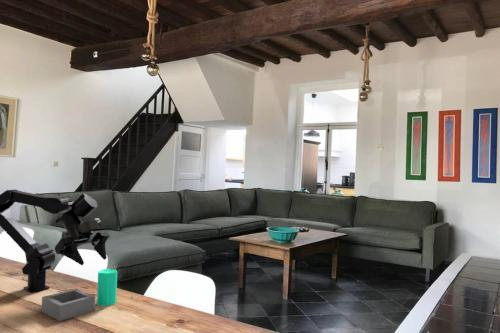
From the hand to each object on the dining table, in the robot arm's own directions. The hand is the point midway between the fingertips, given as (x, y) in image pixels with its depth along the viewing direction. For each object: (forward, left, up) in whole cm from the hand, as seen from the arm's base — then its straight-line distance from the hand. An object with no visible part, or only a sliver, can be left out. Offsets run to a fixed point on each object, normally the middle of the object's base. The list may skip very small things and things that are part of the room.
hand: (94, 261), depth 131 cm
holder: (+5, -11, -13) cm, 17 cm away
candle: (+7, +1, -13) cm, 14 cm away
